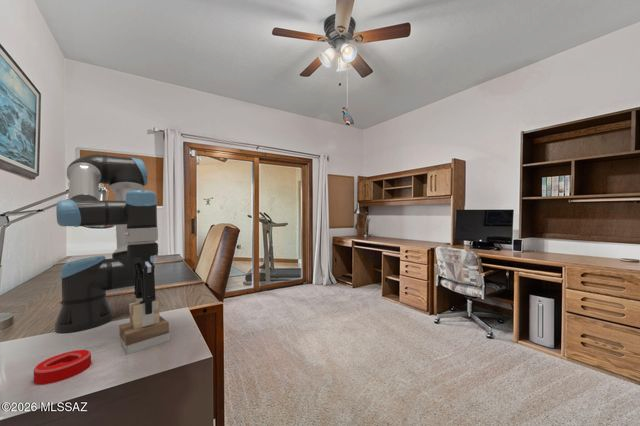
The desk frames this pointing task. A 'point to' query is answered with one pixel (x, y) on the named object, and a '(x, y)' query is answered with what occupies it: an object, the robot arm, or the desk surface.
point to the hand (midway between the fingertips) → (145, 322)
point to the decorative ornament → (62, 367)
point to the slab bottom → (146, 343)
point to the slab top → (143, 332)
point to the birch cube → (137, 314)
